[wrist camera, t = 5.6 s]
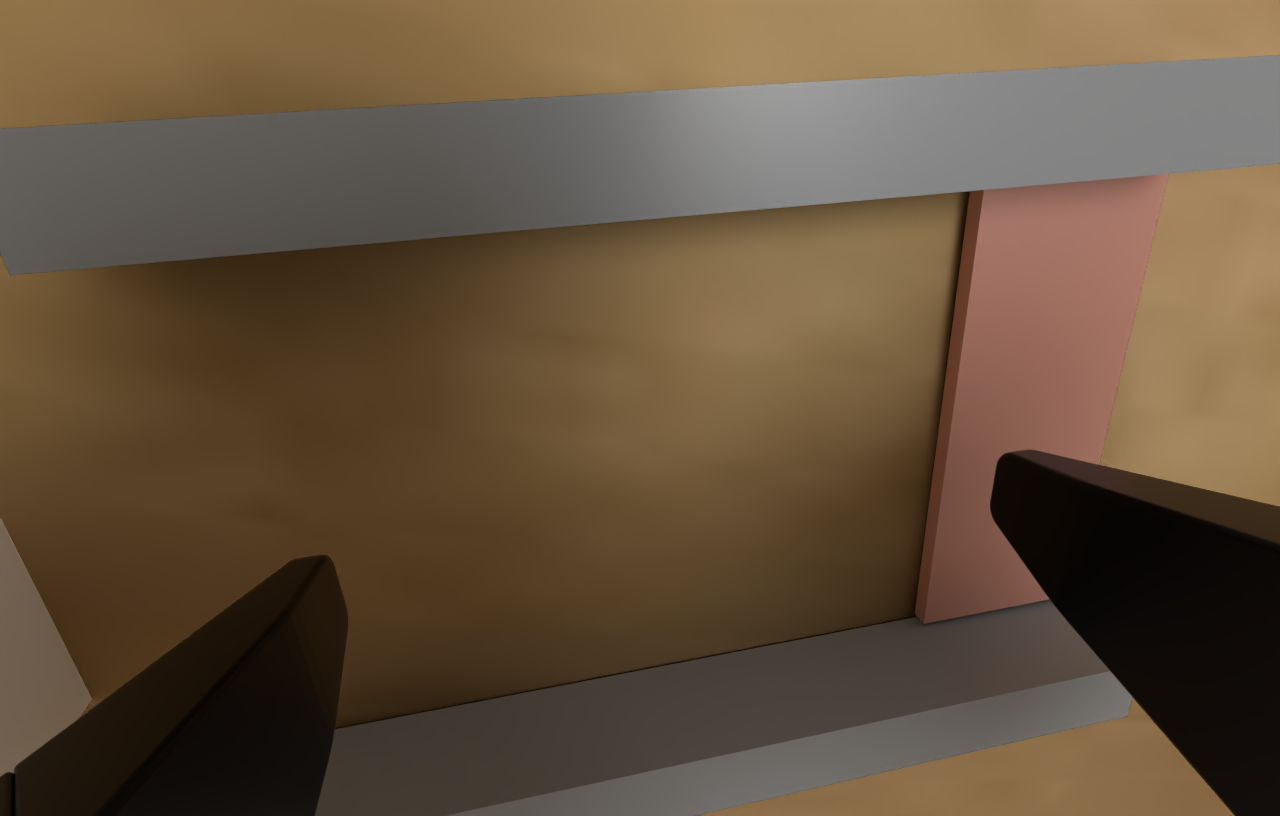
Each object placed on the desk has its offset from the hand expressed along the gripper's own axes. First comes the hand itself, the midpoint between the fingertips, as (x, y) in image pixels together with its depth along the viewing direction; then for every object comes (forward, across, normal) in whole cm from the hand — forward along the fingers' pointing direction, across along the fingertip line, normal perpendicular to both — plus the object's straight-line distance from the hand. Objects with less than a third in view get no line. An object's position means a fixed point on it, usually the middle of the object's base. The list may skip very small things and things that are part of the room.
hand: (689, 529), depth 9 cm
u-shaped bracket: (+2, -1, 0) cm, 2 cm away
